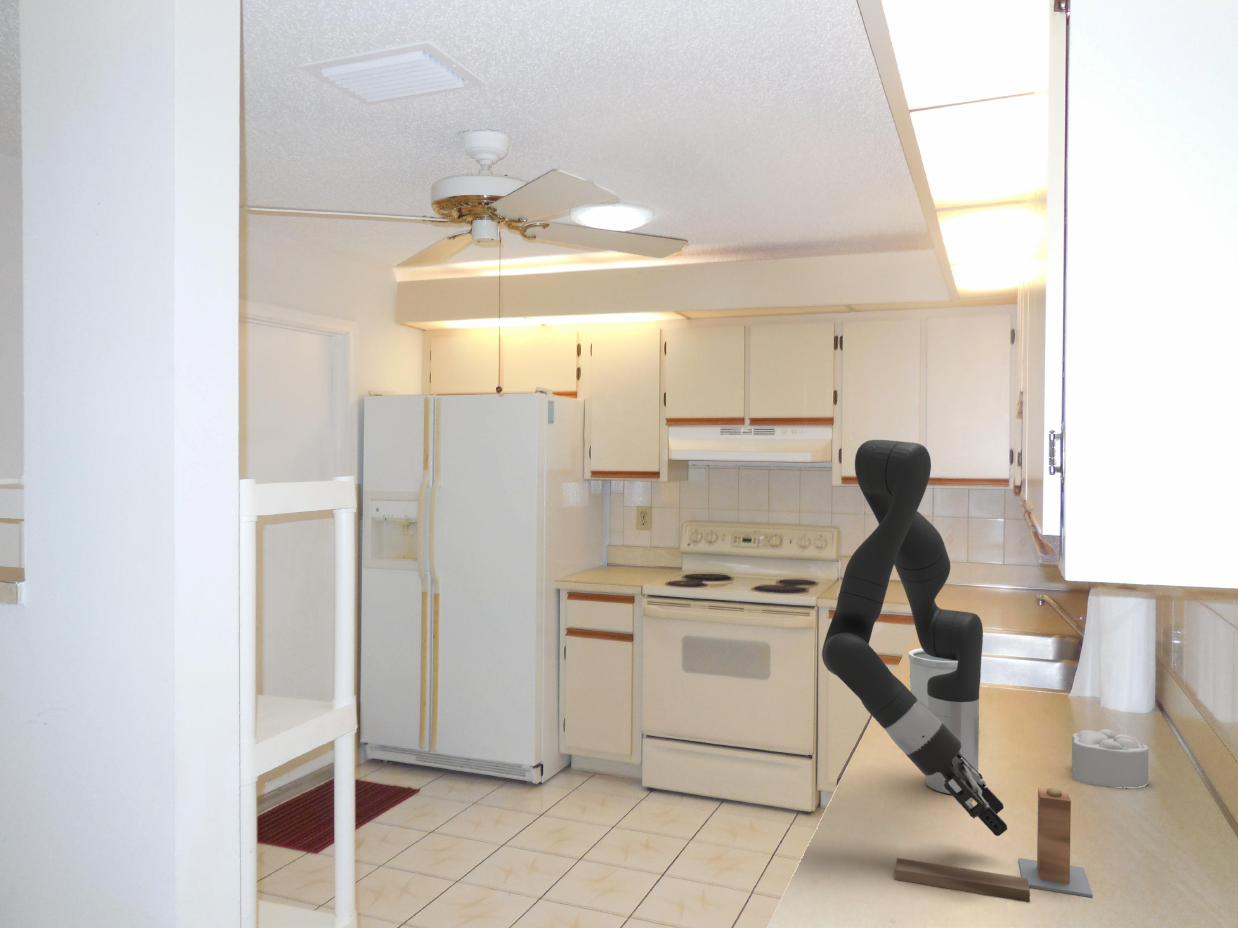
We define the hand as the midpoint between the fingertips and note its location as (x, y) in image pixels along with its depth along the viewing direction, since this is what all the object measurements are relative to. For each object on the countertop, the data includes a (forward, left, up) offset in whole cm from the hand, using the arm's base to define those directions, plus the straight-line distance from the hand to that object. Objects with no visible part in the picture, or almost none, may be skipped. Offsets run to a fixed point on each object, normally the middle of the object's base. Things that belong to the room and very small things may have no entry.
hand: (1001, 820), depth 135 cm
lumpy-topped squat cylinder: (-50, +22, -8) cm, 55 cm away
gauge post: (0, +7, -7) cm, 10 cm away
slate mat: (0, +7, -7) cm, 10 cm away
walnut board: (+7, -6, -7) cm, 12 cm away
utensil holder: (-71, -9, -8) cm, 72 cm away
